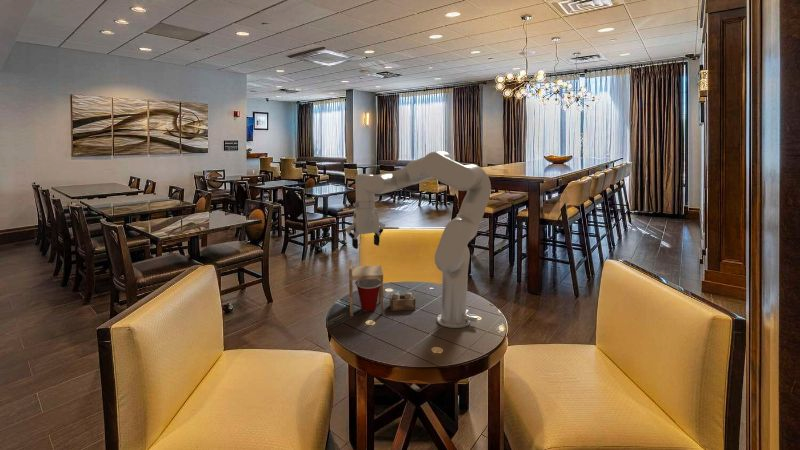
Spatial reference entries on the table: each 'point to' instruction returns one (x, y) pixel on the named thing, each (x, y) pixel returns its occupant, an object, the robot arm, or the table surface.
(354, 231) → the robot arm
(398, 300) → the tray
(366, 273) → the tan flanged panel
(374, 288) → the plastic cup
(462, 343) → the table surface
